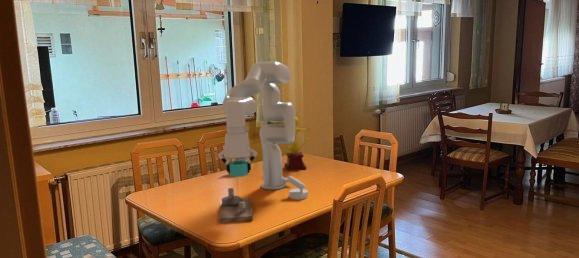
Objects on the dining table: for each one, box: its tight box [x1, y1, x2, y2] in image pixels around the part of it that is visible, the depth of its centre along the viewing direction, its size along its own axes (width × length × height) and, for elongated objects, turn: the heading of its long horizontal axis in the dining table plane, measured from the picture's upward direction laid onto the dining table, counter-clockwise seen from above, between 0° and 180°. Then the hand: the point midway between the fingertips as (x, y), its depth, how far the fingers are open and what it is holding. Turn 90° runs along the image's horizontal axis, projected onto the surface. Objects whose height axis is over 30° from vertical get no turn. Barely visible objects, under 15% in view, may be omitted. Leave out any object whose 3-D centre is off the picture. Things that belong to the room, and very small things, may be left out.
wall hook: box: [286, 175, 309, 200], centre depth 208 cm, size 9×10×10 cm
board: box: [219, 187, 254, 224], centre depth 191 cm, size 13×23×8 cm, turn 6°
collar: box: [229, 160, 249, 178], centre depth 184 cm, size 7×7×5 cm
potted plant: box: [283, 116, 310, 172], centre depth 258 cm, size 14×16×30 cm
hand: (238, 172), depth 184 cm, fingers closed on collar, 7 cm apart
